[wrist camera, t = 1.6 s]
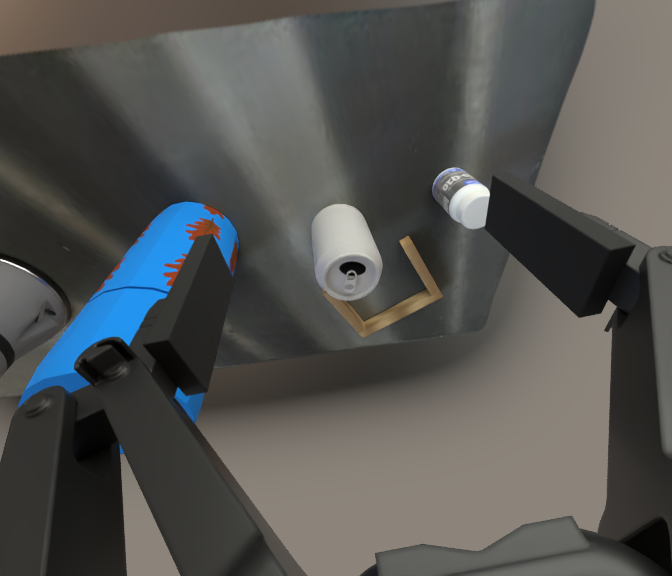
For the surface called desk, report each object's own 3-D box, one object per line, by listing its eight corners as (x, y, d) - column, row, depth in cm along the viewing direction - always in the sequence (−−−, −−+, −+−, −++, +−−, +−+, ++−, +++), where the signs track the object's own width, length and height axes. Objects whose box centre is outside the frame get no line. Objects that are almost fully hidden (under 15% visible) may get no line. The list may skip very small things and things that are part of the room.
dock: (361, 329, 55) (363, 338, 54) (321, 286, 48) (322, 294, 46) (438, 289, 51) (443, 297, 50) (408, 235, 44) (412, 242, 43)
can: (371, 205, 41) (395, 254, 31) (357, 253, 45) (375, 309, 36) (315, 196, 39) (323, 245, 30) (306, 247, 44) (310, 303, 34)
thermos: (174, 182, 36) (38, 346, 17) (255, 231, 41) (224, 401, 22) (139, 247, 41) (0, 436, 21) (216, 284, 46) (161, 465, 26)
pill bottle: (464, 159, 38) (499, 184, 32) (469, 193, 41) (503, 221, 35) (427, 177, 39) (454, 204, 33) (435, 208, 42) (462, 239, 36)
